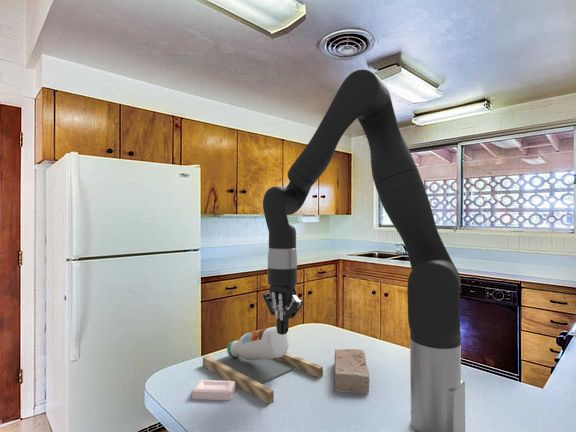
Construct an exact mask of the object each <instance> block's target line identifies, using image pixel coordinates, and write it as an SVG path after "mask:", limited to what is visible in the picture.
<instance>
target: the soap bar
mask: <svg viewBox="0 0 576 432" xmlns="http://www.w3.org/2000/svg"><path fill="white" fill-rule="evenodd" d="M235 391H236V385H235V382H234V381H228V380H215V379H214V380H209V379H208V380H207V379H200V380H198V382H197V383H196V385H195V387H194V388H192V399H193V400H213V401H214V400H215V401H216V400H218V401H219V400H222V401H226V400H227V401H229V400H231V399H232V398H233V396H234V394H233V393H235Z"/></svg>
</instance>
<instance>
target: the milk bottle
mask: <svg viewBox="0 0 576 432" xmlns="http://www.w3.org/2000/svg"><path fill="white" fill-rule="evenodd" d="M289 346H290V344H289V337H288V333H287V334H284V335H281V334H278V333H277V326H272V327H267V328H262V329H257V330H253V331H251V332H246V333H245V334H244V335H242V336H240V338H239V339H238V340H233V341H231V342H229V343H228V345H227V347H226V350H227V354H228V355H227V356H230V357H233V358H235V357H239V356H240V357H242V358H243V359H246V360H251V361H253V360H263V359H271V358H278V357H282V356H283V355H284V354H285V353H286V352H287V353H288V349H289Z"/></svg>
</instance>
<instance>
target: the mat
mask: <svg viewBox="0 0 576 432" xmlns="http://www.w3.org/2000/svg"><path fill="white" fill-rule="evenodd" d="M216 360H217V361H219V362H221V363H223V364H224V365H226V366H228V367H230V368H232V369H234V370H236V371H238V372H240V373H242V374H244V375H245V376H247V377H249V378H251V379H253V380H255V381H257V382H259V383H261V384H263V385H264V384H266V383H268V382H270V381H272V380H275V379H276V378H279V377H281V376H284V375H286V374H287V373H290V372H293V371H294V370H296V369H297V368H296V367H294V366H291V365H289V364H287V363H284V362H282V361H280V360H277V359H275V358H271V359H263V360H253V361H251V360H246V359H243V358H242V357H240V356H239V357H235V358H233V357H230V356H229V355H226V356H224V357H221V358H218V359H216Z"/></svg>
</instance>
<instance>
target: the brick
mask: <svg viewBox="0 0 576 432" xmlns="http://www.w3.org/2000/svg"><path fill="white" fill-rule="evenodd" d="M370 379H371V378H370V372H369V368H368V366H367V358H366V353H365V351H364V349H358V348H351V349H350V348H342V349H339V348H338V349H337V348H336V349H334V385H335V390H336V391H337V392H343V393H358V394H369V392H370Z"/></svg>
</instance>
